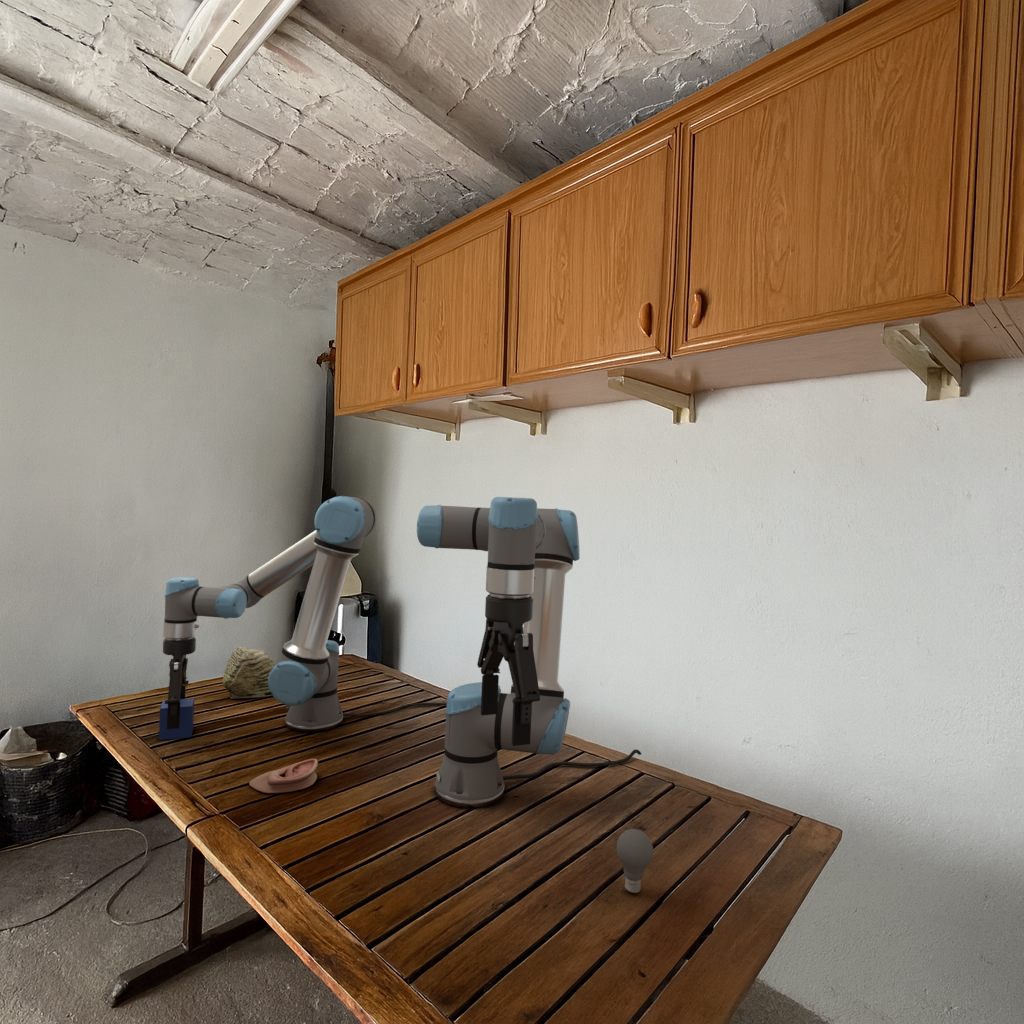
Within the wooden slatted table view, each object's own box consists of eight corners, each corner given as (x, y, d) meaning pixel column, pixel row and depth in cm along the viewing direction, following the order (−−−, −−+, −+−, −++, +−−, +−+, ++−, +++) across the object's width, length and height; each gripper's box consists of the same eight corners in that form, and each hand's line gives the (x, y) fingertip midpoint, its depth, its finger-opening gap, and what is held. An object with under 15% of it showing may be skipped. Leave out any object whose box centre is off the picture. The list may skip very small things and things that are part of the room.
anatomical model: (241, 770, 135) (272, 750, 146) (240, 789, 135) (271, 767, 146) (297, 779, 132) (324, 757, 144) (297, 798, 132) (324, 775, 144)
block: (158, 740, 160) (159, 708, 160) (162, 731, 166) (163, 700, 166) (191, 737, 162) (192, 706, 162) (193, 728, 169) (194, 698, 168)
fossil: (218, 695, 195) (220, 647, 195) (278, 685, 208) (279, 640, 207) (228, 703, 189) (230, 653, 188) (289, 692, 201) (290, 645, 201)
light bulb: (610, 879, 108) (613, 822, 108) (644, 879, 109) (647, 822, 109) (619, 902, 102) (622, 840, 102) (655, 901, 103) (658, 840, 103)
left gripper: (192, 648, 154) (187, 735, 154) (199, 627, 177) (195, 702, 177) (156, 649, 151) (152, 738, 151) (169, 627, 174) (165, 704, 174)
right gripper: (567, 607, 90) (560, 756, 90) (502, 583, 113) (497, 701, 113) (518, 609, 87) (512, 762, 87) (462, 584, 110) (457, 705, 110)
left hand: (176, 719), depth 164 cm, fingers open, 13 cm apart
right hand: (503, 728), depth 100 cm, fingers open, 13 cm apart
